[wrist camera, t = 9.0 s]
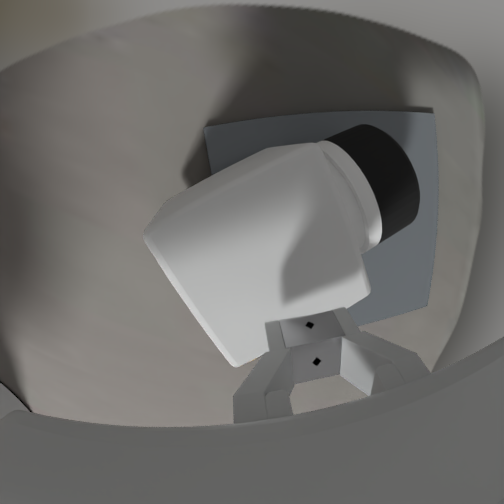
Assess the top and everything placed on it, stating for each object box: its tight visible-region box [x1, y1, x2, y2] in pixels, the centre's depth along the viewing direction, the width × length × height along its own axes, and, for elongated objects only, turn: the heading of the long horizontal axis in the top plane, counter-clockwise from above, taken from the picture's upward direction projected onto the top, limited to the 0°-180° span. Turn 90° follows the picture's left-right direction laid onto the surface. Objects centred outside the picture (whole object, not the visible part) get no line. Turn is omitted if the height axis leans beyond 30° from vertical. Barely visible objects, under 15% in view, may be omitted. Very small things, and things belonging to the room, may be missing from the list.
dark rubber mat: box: [203, 111, 438, 326], centre depth 19 cm, size 16×16×1 cm
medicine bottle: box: [143, 124, 420, 367], centre depth 14 cm, size 7×7×12 cm
